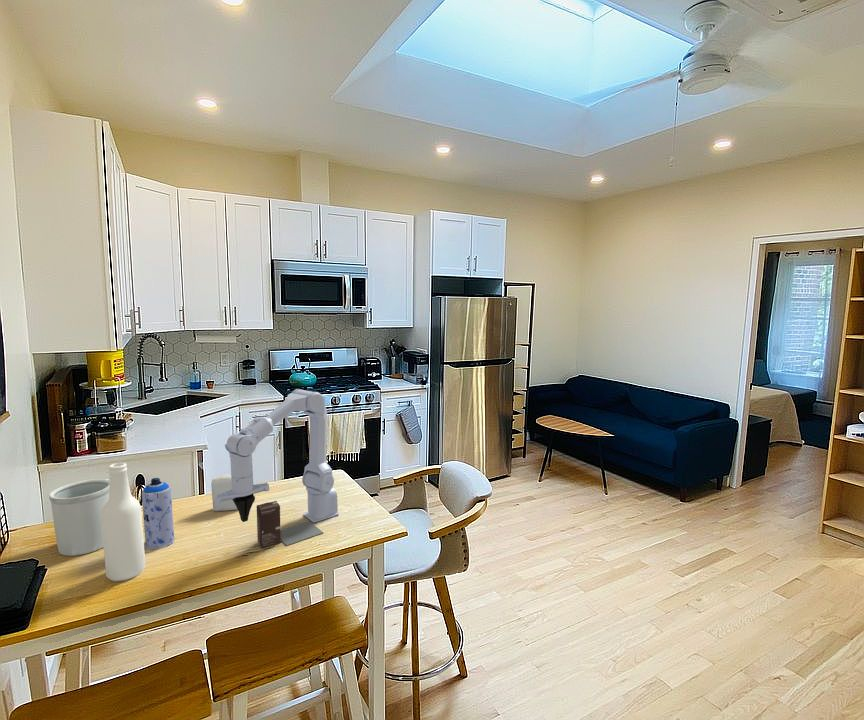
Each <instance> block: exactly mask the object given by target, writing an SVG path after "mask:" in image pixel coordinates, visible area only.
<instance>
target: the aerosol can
mask: <svg viewBox="0 0 864 720" xmlns="http://www.w3.org/2000/svg"><path fill="white" fill-rule="evenodd" d="M141 502H142V503H141V504H142V519H143V532H144V540H145V542H144V549H145V548H146V549H147V550H160V549H164V548H167V547H168V546H170V545H172V544H173V543H174V542H175V540H176V538H175V530H174V518H173V516H174V515H173V500H172V488H171V486H170V485H169V483H167V482H165V481H162V480H161V478H159V477H153V478H151V481H150V483H148V484H147V485H146V486H145V487H144V488H143V489H142V491H141Z"/></svg>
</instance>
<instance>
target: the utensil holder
mask: <svg viewBox="0 0 864 720" xmlns="http://www.w3.org/2000/svg"><path fill="white" fill-rule="evenodd" d="M48 499H49V501H50V503H51V510H52V517H53V518H52V519H53V528H54V534H55V541H56V546H57V550H58V553H59V554H60V555H62V556H65V557H67V556H68V557H69V556H70V557H73V556H74V557H75V556H80V555H81V556H82V555H85V554H89V553H90V554H91V553H93V552H95V551H99V550H102V549H104V545H103V534H102V522H101V513H102V509H103V507H104V506H105V504H106V503H107V502H108V500H109V479H105V478H94V479H85V480H80V481H75V482H71V483H68V484H64V485H62V486H59V487H58V488H55V489H54V490H52V491H51V492H49V494H48Z"/></svg>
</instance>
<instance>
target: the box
mask: <svg viewBox="0 0 864 720" xmlns="http://www.w3.org/2000/svg"><path fill="white" fill-rule="evenodd" d="M256 529H257V530H256V532H257V533H256V534H257V544H258V547H260V548H261V549H262V548H265V547H270V546H273V545H277V544H280V543H281V542H282V541H281V537H280V530H281V505H280V504H279V503H278V501H277V500H274V501H271V502H265V503H261V504H256Z"/></svg>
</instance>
